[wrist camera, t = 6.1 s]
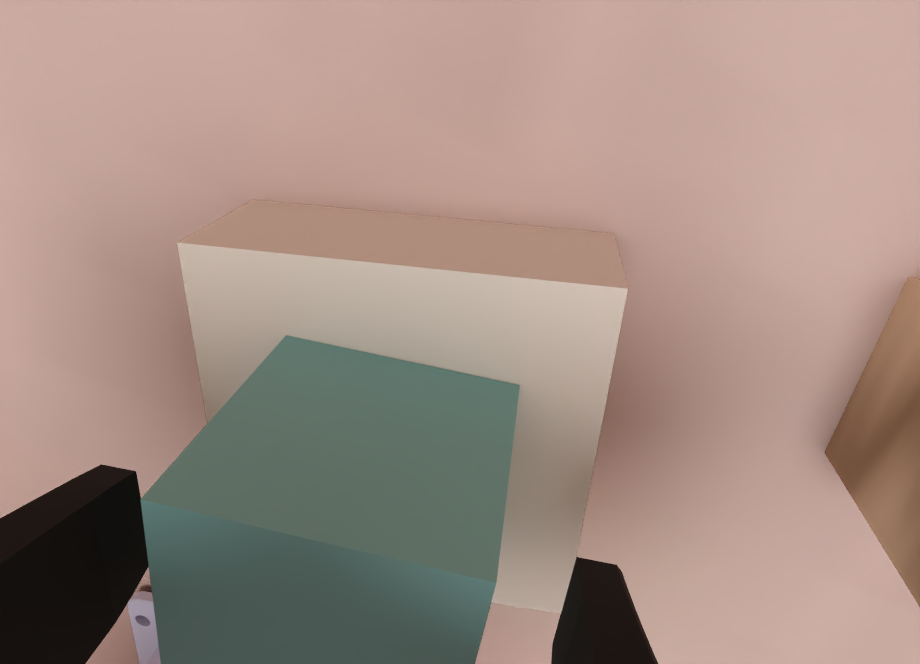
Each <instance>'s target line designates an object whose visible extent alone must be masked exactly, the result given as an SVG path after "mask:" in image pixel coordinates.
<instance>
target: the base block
mask: <svg viewBox="0 0 920 664" xmlns="http://www.w3.org/2000/svg"><path fill="white" fill-rule="evenodd" d="M177 246H178V252H179V258H180V264H181V270H182V276H183V282H184V288H185V294H186V300H187V306H188V312H189V318H190V324H191V330H192V336H193V342H194V348H195V354H196V360H197V366H198V372H199V378H200V384H201V390H202V396H203V402H204V408H205V414H206V420H207V424H208V423H209V421H210V420H211V419H212V418H213V417H214V416H215V415H216V414H217V412H218V411H219V410H220V409H221V408H222V407H223V406H224V405H225V403H226V402H227V401H228V400H229V399H230V398H231V397H232V396H233V394H234V393H235V392H236V391H237V390H238V389H239V388H240V387H241V385H242V384H243V383H244V382H245V381H246V380H247V379H248V377H249V376H250V375H251V374H252V373H253V372H254V371H255V370H256V368H257V367H258V366H259V365H260V364H261V363H262V362H263V361H264V359H265V358H266V357H267V356H268V355H269V354H270V353H271V352H272V350H273V349H274V348H275V347H276V346H277V345H278V344H279V343H280V341H281V340H282V339H283V338H284V337H285V336H286V335H288V336H292V337H297V338H302V339H306V340H311V341H316V342H320V343H325V344H330V345H334V346H339V347H344V348H348V349H353V350H358V351H362V352H367V353H372V354H376V355H381V356H386V357H390V358H395V359H400V360H404V361H409V362H414V363H418V364H423V365H428V366H432V367H437V368H442V369H446V370H451V371H456V372H460V373H465V374H470V375H474V376H479V377H484V378H488V379H493V380H498V381H502V382H507V383H512V384H516V385H520V389H519V397H518V406H517V414H516V423H515V431H514V439H513V448H512V456H511V465H510V473H509V481H508V490H507V498H506V507H505V515H504V524H503V532H502V540H501V549H500V557H499V566H498V574H497V583H496V587H495V590H494V594H493V598H492V601H491V603H494V604H501V605H507V606H513V607H519V608H526V609H532V610H538V611H544V612H551V613H557V614H561V612H562V608H563V604H564V601H565V597H566V594H567V590H568V586H569V583H570V579H571V575H572V572H573V568H574V565H575V561H576V557H577V552H578V546H579V541H580V536H581V531H582V526H583V520H584V515H585V510H586V505H587V500H588V494H589V489H590V484H591V479H592V474H593V468H594V463H595V458H596V453H597V448H598V442H599V437H600V432H601V427H602V421H603V416H604V411H605V406H606V401H607V395H608V390H609V385H610V380H611V375H612V369H613V364H614V359H615V354H616V349H617V343H618V338H619V333H620V328H621V323H622V317H623V312H624V307H625V302H626V297H627V291H628V287H627V283H626V279H625V275H624V272H623V268H622V264H621V260H620V256H619V252H618V249H617V245H616V241H615V237H614V233H604V232H593V231H583V230H572V229H561V228H551V227H540V226H530V225H519V224H508V223H498V222H487V221H476V220H466V219H455V218H445V217H434V216H423V215H413V214H402V213H391V212H381V211H370V210H359V209H349V208H338V207H328V206H317V205H306V204H296V203H285V202H274V201H264V200H252V201H250V202H248V203H247V204H245V205H243V206H241V207H239V208H238V209H236V210H234V211H232V212H231V213H229V214H227V215H225V216H223V217H222V218H220V219H218V220H216V221H215V222H213V223H211V224H209V225H207V226H206V227H204V228H202V229H200V230H198V231H197V232H195V233H193V234H191V235H190V236H188V237H186V238H184V239H182V240H181V241H179V242H177Z"/></svg>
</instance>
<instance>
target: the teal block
mask: <svg viewBox="0 0 920 664" xmlns="http://www.w3.org/2000/svg"><path fill="white" fill-rule="evenodd" d="M519 389H520V385H516V384H512V383H507V382H502V381H498V380H493V379H488V378H484V377H479V376H474V375H470V374H465V373H460V372H456V371H451V370H446V369H442V368H437V367H432V366H428V365H423V364H418V363H414V362H409V361H404V360H400V359H395V358H390V357H386V356H381V355H376V354H372V353H367V352H362V351H358V350H353V349H348V348H344V347H339V346H334V345H330V344H325V343H320V342H316V341H311V340H306V339H302V338H297V337H292V336H288V335H286V336H285V337H284V338H283V339H282V340H281V341H280V343H279V344H278V345H277V346H276V347H275V348H274V349H273V350H272V352H271V353H270V354H269V355H268V356H267V357H266V358H265V359H264V361H263V362H262V363H261V364H260V365H259V366H258V367H257V368H256V370H255V371H254V372H253V373H252V374H251V375H250V376H249V377H248V379H247V380H246V381H245V382H244V383H243V384H242V385H241V387H240V388H239V389H238V390H237V391H236V392H235V393H234V394H233V396H232V397H231V398H230V399H229V400H228V401H227V402H226V403H225V405H224V406H223V407H222V408H221V409H220V410H219V411H218V412H217V414H216V415H215V416H214V417H213V418H212V419H211V420H210V421H209V423H208V424H207V425H206V426H205V427H204V428H203V429H202V430H201V432H200V433H199V434H198V435H197V436H196V437H195V438H194V440H193V441H192V442H191V443H190V444H189V445H188V446H187V447H186V449H185V450H184V451H183V452H182V453H181V454H180V455H179V456H178V458H177V459H176V460H175V461H174V462H173V463H172V464H171V465H170V467H169V468H168V469H167V470H166V471H165V472H164V473H163V474H162V476H161V477H160V478H159V479H158V480H157V481H156V482H155V483H154V485H153V486H152V487H151V488H150V489H149V490H148V491H147V492H146V494H145V495H144V496H143V497H142V498H141V499H140V500H141V508H142V516H143V524H144V532H145V540H146V548H147V557H148V565H149V573H150V581H151V589H152V597H153V605H154V613H155V621H156V629H157V637H158V645H159V653H160V661H161V664H475V661H476V657H477V654H478V650H479V646H480V643H481V639H482V635H483V631H484V628H485V624H486V620H487V616H488V613H489V609H490V605H491V601H492V598H493V594H494V590H495V587H496V583H497V574H498V566H499V557H500V549H501V540H502V532H503V524H504V515H505V507H506V498H507V490H508V481H509V473H510V465H511V456H512V448H513V439H514V431H515V423H516V414H517V406H518V397H519Z"/></svg>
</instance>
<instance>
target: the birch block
mask: <svg viewBox="0 0 920 664" xmlns="http://www.w3.org/2000/svg"><path fill="white" fill-rule="evenodd" d="M825 454H826V456H827V457H828V459H829V461H830V462H831V464H832V466H833V467H834V469H835V470H836V472H837V474H838V475H839V477H840V478H841V480H842V482H843V483H844V485H845V487H846V488H847V490H848V491H849V493H850V495H851V496H852V498H853V500H854V501H855V503H856V504H857V506H858V508H859V509H860V511H861V513H862V514H863V516H864V517H865V519H866V521H867V522H868V524H869V526H870V527H871V529H872V530H873V532H874V534H875V535H876V537H877V538H878V540H879V542H880V543H881V545H882V547H883V548H884V550H885V551H886V553H887V555H888V556H889V558H890V560H891V561H892V563H893V564H894V566H895V568H896V569H897V571H898V573H899V574H900V576H901V577H902V579H903V581H904V582H905V584H906V585H907V587H908V589H909V590H910V592H911V594H912V595H913V597H914V598H915V600H916V602H917V603H918V605H919V607H920V279H917V278H911V277H908V279H907V281H906V283H905V285H904V288H903V290H902V292H901V294H900V296H899V298H898V300H897V302H896V304H895V306H894V308H893V311H892V313H891V315H890V317H889V319H888V321H887V323H886V325H885V327H884V329H883V331H882V334H881V336H880V338H879V340H878V342H877V344H876V346H875V348H874V350H873V352H872V354H871V357H870V359H869V361H868V363H867V365H866V367H865V369H864V371H863V373H862V375H861V377H860V380H859V382H858V384H857V386H856V388H855V390H854V392H853V394H852V396H851V398H850V400H849V403H848V405H847V407H846V409H845V411H844V413H843V415H842V417H841V419H840V421H839V423H838V426H837V428H836V430H835V432H834V434H833V436H832V438H831V440H830V442H829V444H828V446H827V449H826V451H825Z"/></svg>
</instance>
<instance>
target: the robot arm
mask: <svg viewBox="0 0 920 664" xmlns="http://www.w3.org/2000/svg"><path fill="white" fill-rule="evenodd" d="M140 499H141V497H140V492H139V486H138V480H137V474H136V471H131V470H126V469H121V468H116V467H111V466H106V465H100V466H98V467H96V468H94V469H92V470H90V471H88V472H86V473H84V474H82V475H80V476H78V477H76V478H74V479H72V480H70V481H68V482H66V483H65V484H63V485H61V486H59V487H57V488H55V489H53V490H52V491H50V492H48V493H46V494H44V495H42V496H41V497H39V498H37V499H35V500H33V501H31V502H30V503H28V504H26V505H24V506H22V507H20V508H19V509H17V510H15V511H13V512H11V513H9V514H8V515H6V516H4V517H2V518H0V664H85V663H86V662H87V660H88V659H89V658H90V656H91V655H92V654H93V652H94V651H95V650H96V648H97V647H98V646H99V644H100V643H101V642H102V640H103V639H104V638H105V636H106V635H107V633H108V632H109V631H110V629H111V628H112V627H113V625H114V624H115V622H116V621H117V619H118V618H119V616H120V614H121V613H122V611H123V609H124V608H125V606H126V605H127V603H128V606H127V607H128V611H129V616H130V621H131V626H132V630H133V635H134V640H135V645H136V649H137V654H138V659H139V664H161V661H160V653H159V645H158V637H157V629H156V621H155V613H154V605H153V597H152V593H151V592H147V591H139V592H136V593H135V594H134V595H133V593H134V591H135V589H136V588H137V586H138V584H139V582H140V580H141V579H142V577H143V575H144V573H145V572H146V570H147V568H148V566H149V565H148V557H147V548H146V540H145V532H144V524H143V516H142V508H141V500H140ZM132 595H133V596H132ZM131 596H132V598H131ZM130 598H131V599H130ZM128 601H129V602H128ZM551 664H658V662H657V660H656V658H655V656H654V653H653V651H652V648H651V646H650V644H649V641H648V639H647V637H646V634H645V632H644V629H643V627H642V625H641V622H640V620H639V617H638V615H637V612H636V609H635V607H634V604H633V602H632V599H631V596H630V594H629V591H628V588H627V585H626V583H625V580H624V577H623V574H622V572H621V570H620V569H619V568H618V566H617V565H614V564H609V563H604V562H599V561H594V560H588V559H583V558H578V557H576V561H575V565H574V568H573V572H572V575H571V579H570V583H569V586H568V590H567V594H566V597H565V601H564V604H563V608H562V612H561V615H560V619H559V623H558V626H557V630H556V633H555V637H554V641H553V646H552V662H551Z"/></svg>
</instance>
